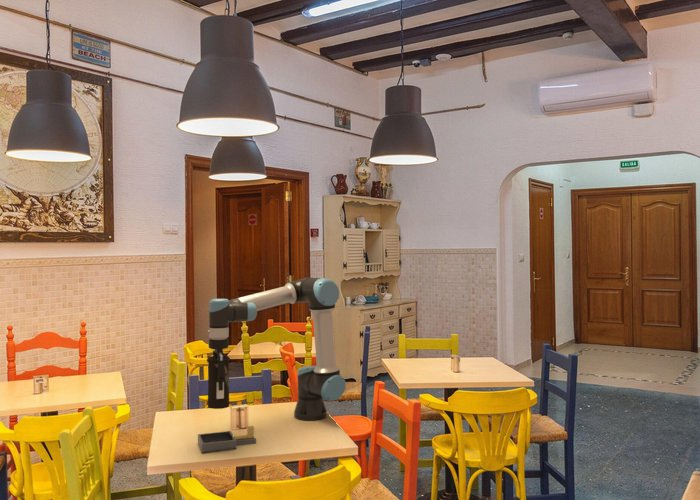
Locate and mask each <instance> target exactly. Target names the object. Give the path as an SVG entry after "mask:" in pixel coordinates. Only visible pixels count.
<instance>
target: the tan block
mask: <svg viewBox="0 0 700 500" xmlns="http://www.w3.org/2000/svg"><path fill="white" fill-rule="evenodd" d="M233 437H235V439H236V440H243V439H252V438H255V426H254V425H247V426H246V434H240V435H234V436H233Z"/></svg>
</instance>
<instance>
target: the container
mask: <svg viewBox="0 0 700 500" xmlns="http://www.w3.org/2000/svg"><path fill="white" fill-rule="evenodd" d="M206 361H207V362H206V363H208V365H207V366H208V370H207V371H208V373H207V374H208V377H207V385H208V386H207V387H208V388H207V408H208V409H212V410H219V409H220V410H222V409H227V408H229V407H230V375H229V373H230V366H229V365H230V364H229V363H230V361H231V357H230V356H228V355H225V361H224V362H225V381H224V398H223V399H217V382H215V381H216V380H217V367H218V358H217V357H216V358H214V356H213V355H212V356H211V355H210V356H209V357H207V359H206Z"/></svg>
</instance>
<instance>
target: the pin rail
mask: <svg viewBox="0 0 700 500" xmlns="http://www.w3.org/2000/svg"><path fill="white" fill-rule="evenodd" d="M254 444H257V438H256V437H254V438H252V439H243V440H236V447H238V446H245V445H254Z"/></svg>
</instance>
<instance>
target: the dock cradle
mask: <svg viewBox="0 0 700 500" xmlns="http://www.w3.org/2000/svg"><path fill="white" fill-rule="evenodd" d="M197 445H198V447H199V449H200V450H199V451H200V453H201V454H209V453H216V452H217V453H218V452H225V451H233V450H237V446H236V439H235V437H234V436H233V433H232V431H231V430H227V431H219V432H218V431H217V432H209V433H201V434H200V433H199V434H197Z"/></svg>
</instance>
